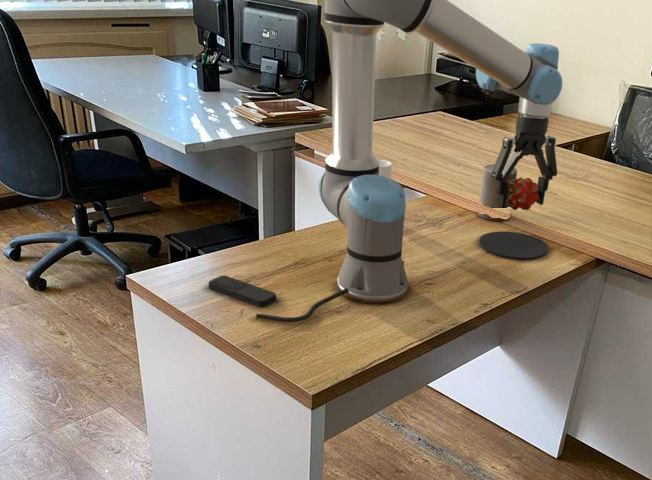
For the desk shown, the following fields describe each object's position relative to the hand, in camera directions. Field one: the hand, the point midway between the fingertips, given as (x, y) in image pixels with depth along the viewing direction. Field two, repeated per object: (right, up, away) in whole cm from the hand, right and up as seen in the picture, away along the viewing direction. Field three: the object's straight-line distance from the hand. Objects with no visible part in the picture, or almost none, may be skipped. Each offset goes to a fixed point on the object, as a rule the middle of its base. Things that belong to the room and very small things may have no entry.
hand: (519, 204), depth 176 cm
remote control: (-62, -25, -32) cm, 74 cm away
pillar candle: (-5, +2, +25) cm, 26 cm away
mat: (-1, -10, +6) cm, 11 cm away
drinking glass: (-38, 0, +15) cm, 41 cm away
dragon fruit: (0, -1, +1) cm, 1 cm away
